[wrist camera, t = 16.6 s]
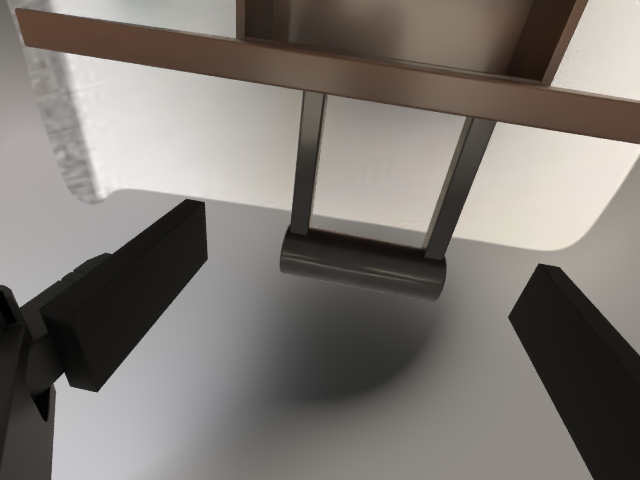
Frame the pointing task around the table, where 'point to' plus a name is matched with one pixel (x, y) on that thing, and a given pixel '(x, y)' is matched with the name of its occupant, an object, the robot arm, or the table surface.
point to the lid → (317, 83)
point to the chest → (424, 32)
